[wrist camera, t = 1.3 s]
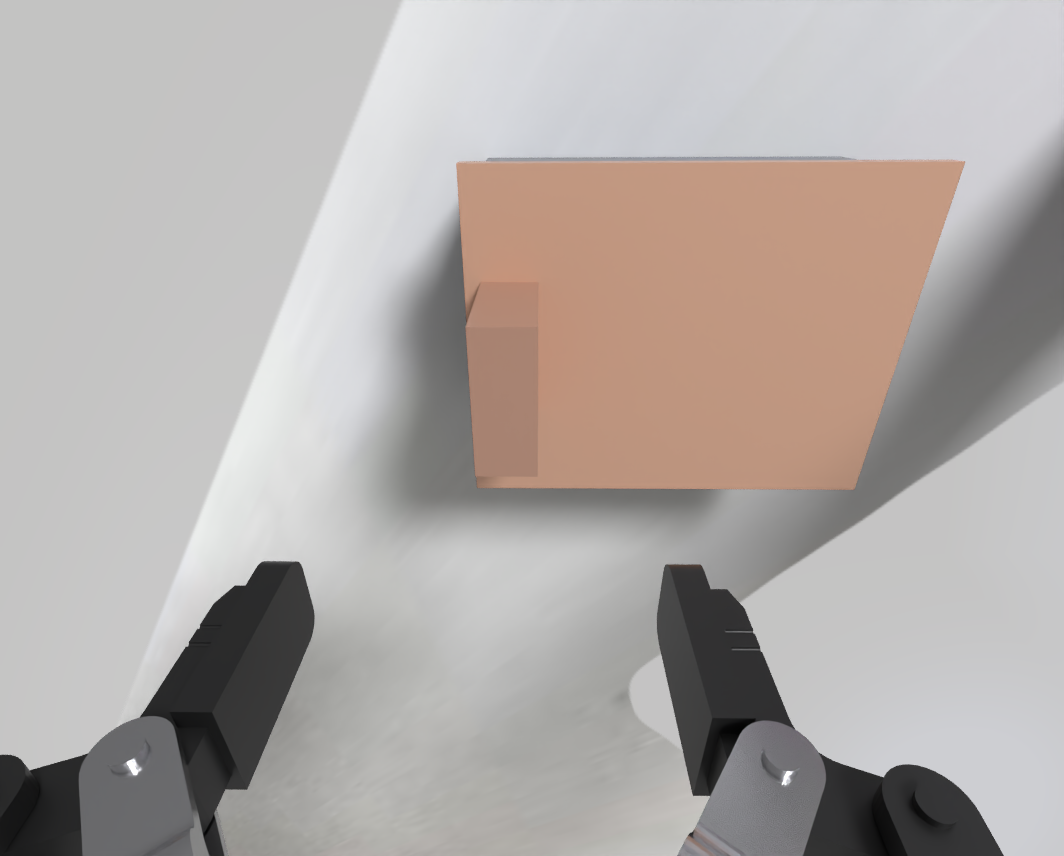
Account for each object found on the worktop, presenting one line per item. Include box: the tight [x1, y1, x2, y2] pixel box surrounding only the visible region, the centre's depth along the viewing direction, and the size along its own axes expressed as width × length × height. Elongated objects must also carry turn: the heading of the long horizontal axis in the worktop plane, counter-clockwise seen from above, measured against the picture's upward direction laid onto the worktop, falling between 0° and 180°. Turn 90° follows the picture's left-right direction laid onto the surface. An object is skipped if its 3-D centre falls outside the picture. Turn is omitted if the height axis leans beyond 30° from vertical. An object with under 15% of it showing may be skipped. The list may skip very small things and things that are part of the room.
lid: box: [456, 160, 965, 490], centre depth 24 cm, size 19×15×8 cm
